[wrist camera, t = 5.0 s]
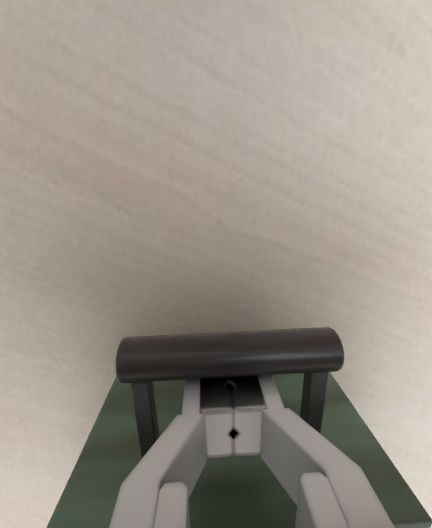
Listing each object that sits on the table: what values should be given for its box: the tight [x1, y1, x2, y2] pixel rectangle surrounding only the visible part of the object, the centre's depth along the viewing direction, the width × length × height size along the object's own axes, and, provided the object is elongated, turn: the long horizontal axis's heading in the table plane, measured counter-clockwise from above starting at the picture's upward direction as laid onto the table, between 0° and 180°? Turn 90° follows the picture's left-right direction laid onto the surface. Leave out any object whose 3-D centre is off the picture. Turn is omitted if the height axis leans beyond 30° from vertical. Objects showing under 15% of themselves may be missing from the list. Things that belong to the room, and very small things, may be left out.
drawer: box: [47, 327, 432, 528], centre depth 11 cm, size 18×11×7 cm, turn 1°
